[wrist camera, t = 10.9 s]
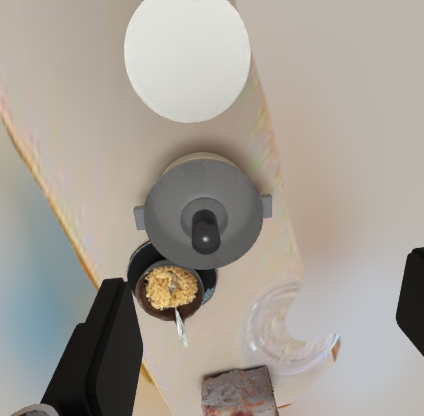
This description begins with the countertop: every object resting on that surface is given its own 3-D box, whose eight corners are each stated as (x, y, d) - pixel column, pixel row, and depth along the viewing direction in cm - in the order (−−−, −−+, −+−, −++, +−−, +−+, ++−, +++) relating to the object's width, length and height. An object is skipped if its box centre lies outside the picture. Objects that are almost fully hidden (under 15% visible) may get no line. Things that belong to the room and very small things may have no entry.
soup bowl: (225, 241, 51) (230, 267, 45) (206, 317, 57) (208, 350, 50) (132, 228, 49) (123, 252, 43) (123, 308, 55) (113, 341, 49)
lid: (135, 164, 38) (124, 182, 31) (260, 153, 38) (274, 169, 32) (154, 269, 44) (147, 304, 37) (262, 259, 44) (274, 291, 38)
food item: (207, 399, 65) (210, 451, 56) (198, 372, 62) (200, 423, 53) (272, 385, 65) (285, 435, 56) (266, 358, 62) (279, 406, 53)
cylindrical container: (209, 103, 43) (229, 136, 20) (157, 88, 42) (113, 103, 18) (224, 47, 40) (268, 8, 17) (169, 29, 39) (137, -39, 16)
